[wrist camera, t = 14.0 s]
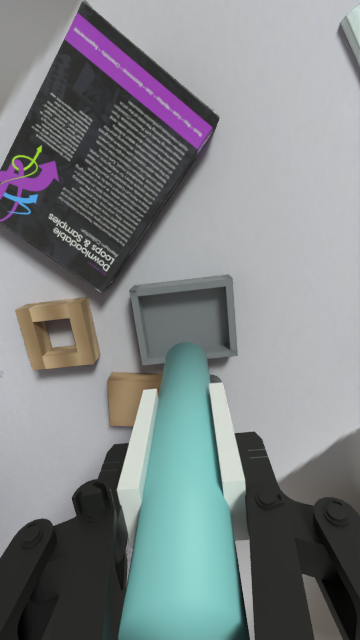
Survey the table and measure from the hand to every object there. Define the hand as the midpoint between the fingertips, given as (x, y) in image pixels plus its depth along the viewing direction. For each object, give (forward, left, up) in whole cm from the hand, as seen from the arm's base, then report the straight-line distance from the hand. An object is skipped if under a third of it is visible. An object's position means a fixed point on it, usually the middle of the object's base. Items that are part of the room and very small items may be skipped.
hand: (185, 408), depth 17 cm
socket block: (-14, 0, -18) cm, 23 cm away
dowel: (0, 0, -6) cm, 6 cm away
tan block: (-5, -10, -18) cm, 21 cm away
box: (-7, +16, -18) cm, 25 cm away
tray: (0, 0, -18) cm, 18 cm away
